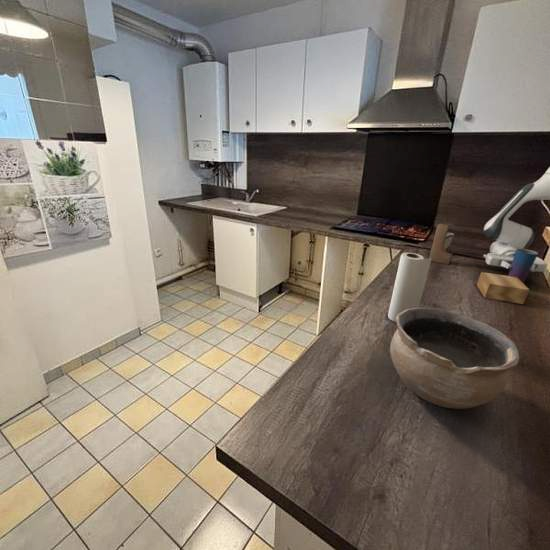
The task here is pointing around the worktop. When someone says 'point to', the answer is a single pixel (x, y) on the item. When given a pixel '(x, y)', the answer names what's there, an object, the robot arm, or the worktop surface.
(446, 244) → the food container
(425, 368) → the ceramic bowl
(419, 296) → the paper towel roll
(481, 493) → the worktop surface
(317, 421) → the worktop surface
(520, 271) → the cup
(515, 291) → the riser
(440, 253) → the wooden block
